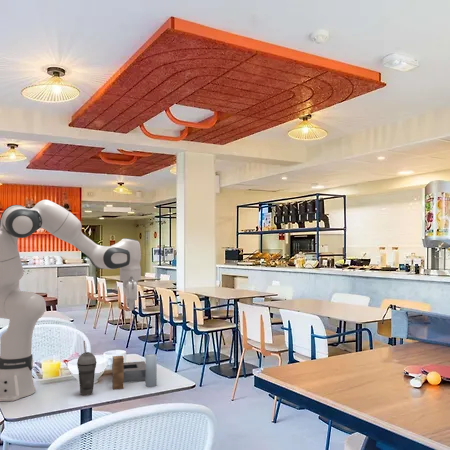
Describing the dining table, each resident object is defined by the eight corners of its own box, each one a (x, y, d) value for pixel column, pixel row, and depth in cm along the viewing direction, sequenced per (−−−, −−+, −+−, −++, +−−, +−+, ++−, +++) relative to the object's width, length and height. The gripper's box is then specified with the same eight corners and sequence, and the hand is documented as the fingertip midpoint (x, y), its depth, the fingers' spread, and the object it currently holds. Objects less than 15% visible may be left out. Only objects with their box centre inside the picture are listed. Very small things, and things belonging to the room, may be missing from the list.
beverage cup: (90, 397, 179) (91, 343, 180) (72, 395, 181) (73, 342, 181) (99, 391, 186) (100, 339, 187) (82, 389, 188) (82, 338, 188)
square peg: (113, 389, 188) (113, 358, 189) (112, 386, 192) (112, 356, 193) (123, 388, 190) (123, 358, 190) (122, 385, 193) (122, 355, 194)
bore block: (114, 383, 196) (114, 372, 196) (112, 374, 210) (112, 363, 210) (148, 380, 200) (148, 369, 201) (144, 371, 214) (144, 361, 214)
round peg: (146, 387, 191) (146, 357, 191) (144, 384, 195) (144, 354, 195) (157, 386, 192) (157, 356, 193) (155, 383, 196) (155, 353, 197)
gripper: (140, 277, 197) (140, 311, 197) (135, 274, 217) (135, 305, 216) (125, 278, 195) (124, 312, 195) (120, 274, 215) (120, 305, 214)
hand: (130, 308), depth 206 cm, fingers open, 8 cm apart
